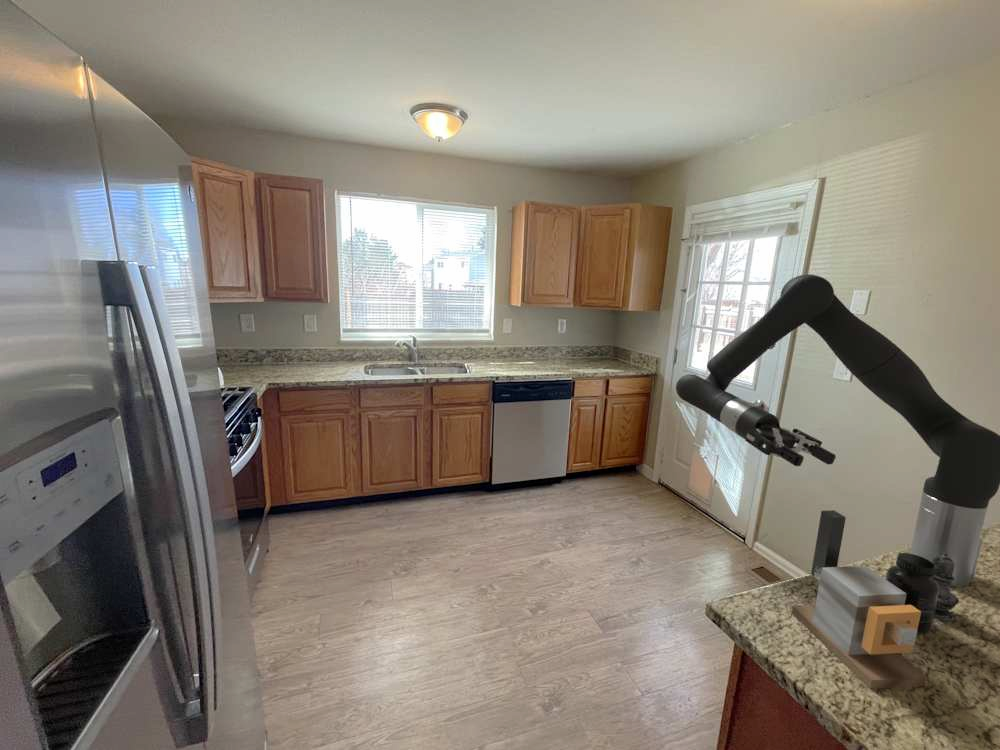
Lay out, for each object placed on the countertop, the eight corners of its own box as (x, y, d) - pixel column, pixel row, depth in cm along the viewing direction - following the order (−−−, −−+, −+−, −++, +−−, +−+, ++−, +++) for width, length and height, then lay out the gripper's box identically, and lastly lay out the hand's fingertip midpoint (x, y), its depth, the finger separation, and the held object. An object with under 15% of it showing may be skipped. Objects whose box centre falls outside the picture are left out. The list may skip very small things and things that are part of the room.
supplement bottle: (925, 616, 78) (938, 557, 76) (935, 640, 72) (950, 578, 70) (876, 601, 82) (887, 544, 80) (882, 623, 76) (894, 563, 74)
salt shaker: (964, 624, 76) (979, 564, 74) (926, 618, 77) (939, 559, 75) (938, 601, 82) (951, 545, 80) (903, 596, 83) (914, 541, 81)
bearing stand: (836, 610, 79) (847, 551, 77) (925, 685, 64) (941, 614, 62) (791, 612, 78) (800, 553, 76) (870, 688, 63) (884, 617, 61)
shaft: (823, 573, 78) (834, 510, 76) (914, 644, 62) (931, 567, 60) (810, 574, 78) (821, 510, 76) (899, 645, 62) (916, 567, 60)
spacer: (902, 644, 66) (910, 604, 65) (912, 652, 65) (921, 611, 64) (861, 646, 66) (868, 606, 64) (870, 654, 64) (878, 614, 63)
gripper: (729, 405, 91) (797, 445, 76) (777, 405, 95) (851, 443, 81) (717, 436, 93) (782, 480, 79) (765, 435, 98) (835, 476, 84)
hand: (817, 461), depth 80 cm, fingers open, 8 cm apart
